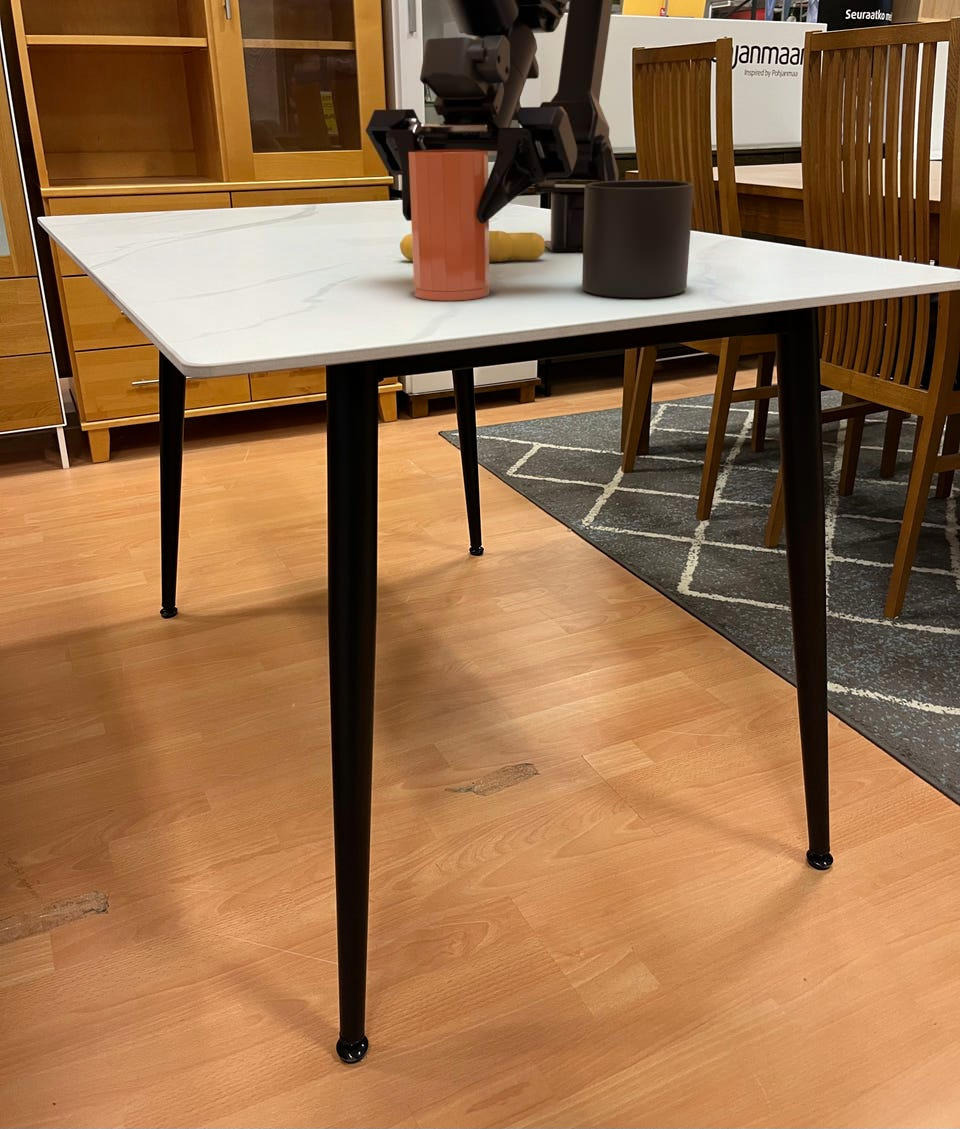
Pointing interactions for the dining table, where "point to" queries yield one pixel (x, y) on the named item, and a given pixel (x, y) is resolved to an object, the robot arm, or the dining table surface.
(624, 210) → the mug
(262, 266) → the dining table surface
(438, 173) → the pot
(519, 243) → the yellow ridged dog toy
